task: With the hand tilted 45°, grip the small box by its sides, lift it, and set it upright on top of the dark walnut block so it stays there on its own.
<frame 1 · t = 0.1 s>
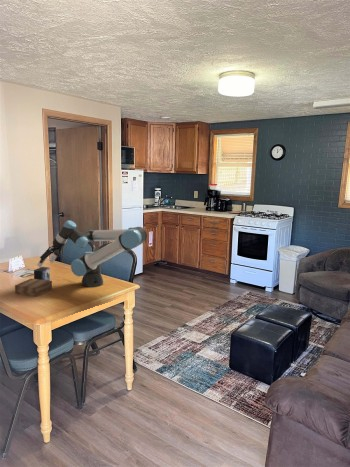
hand: (45, 263, 235), 15 cm above the table, tool tilted 35°, fingers open, 13 cm apart
small box: (42, 283, 242), on the table
walnut block: (34, 291, 224), on the table
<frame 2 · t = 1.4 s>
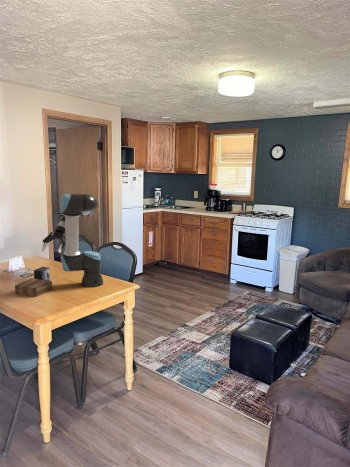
hand: (50, 251, 250), 20 cm above the table, tool tilted 45°, fingers open, 13 cm apart
nothing on the table moved.
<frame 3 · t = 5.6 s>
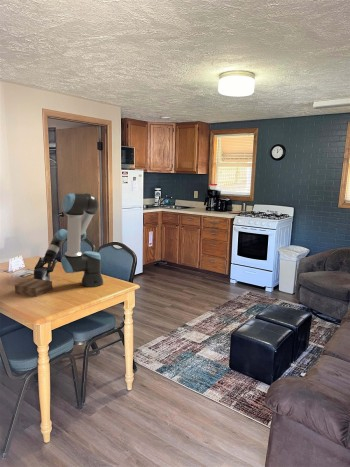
hand: (38, 279, 238), 3 cm above the table, tool tilted 45°, fingers closed on small box, 6 cm apart
small box: (42, 283, 242), on the table, touching gripper
everything else where it was.
when the fingers open (11 cm above the table, at t = 10.5 s): small box drops 2 cm, point 5 cm above the table.
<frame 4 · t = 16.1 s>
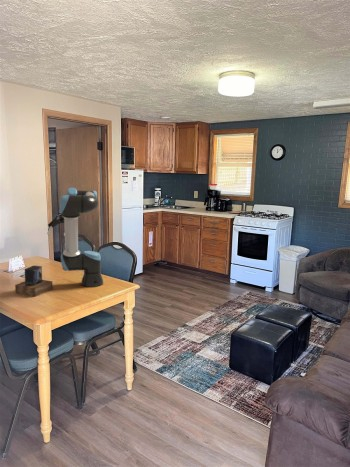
hand: (56, 235, 248), 33 cm above the table, tool tilted 45°, fingers open, 13 cm apart
small box: (33, 283, 224), point 5 cm above the table
everything else where it was.
at the end: small box inside the target area on the walnut block (0.1 cm from its centre), point 5.8 cm above the walnut block's base; small box tilted 0°; the gripper is holding nothing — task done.
